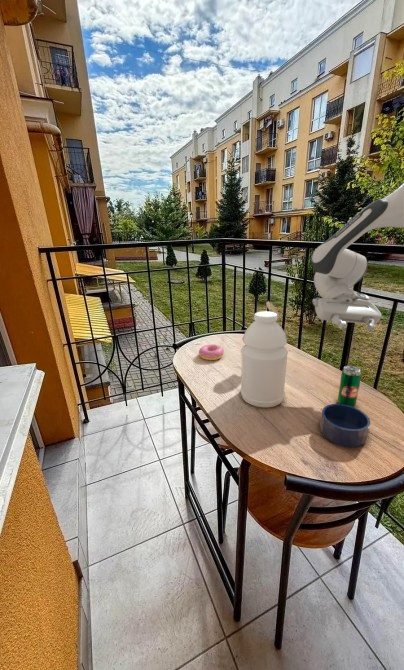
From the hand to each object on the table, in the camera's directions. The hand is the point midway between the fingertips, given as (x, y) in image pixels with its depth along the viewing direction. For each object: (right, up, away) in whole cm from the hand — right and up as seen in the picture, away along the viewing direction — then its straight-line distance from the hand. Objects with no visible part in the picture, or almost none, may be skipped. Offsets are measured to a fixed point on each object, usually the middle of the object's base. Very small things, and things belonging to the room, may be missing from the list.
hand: (358, 328), depth 84 cm
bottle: (-27, -22, +8) cm, 36 cm away
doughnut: (-43, -11, +39) cm, 59 cm away
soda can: (-2, -23, +2) cm, 23 cm away
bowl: (-9, -28, -9) cm, 31 cm away
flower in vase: (-20, -13, +31) cm, 39 cm away
